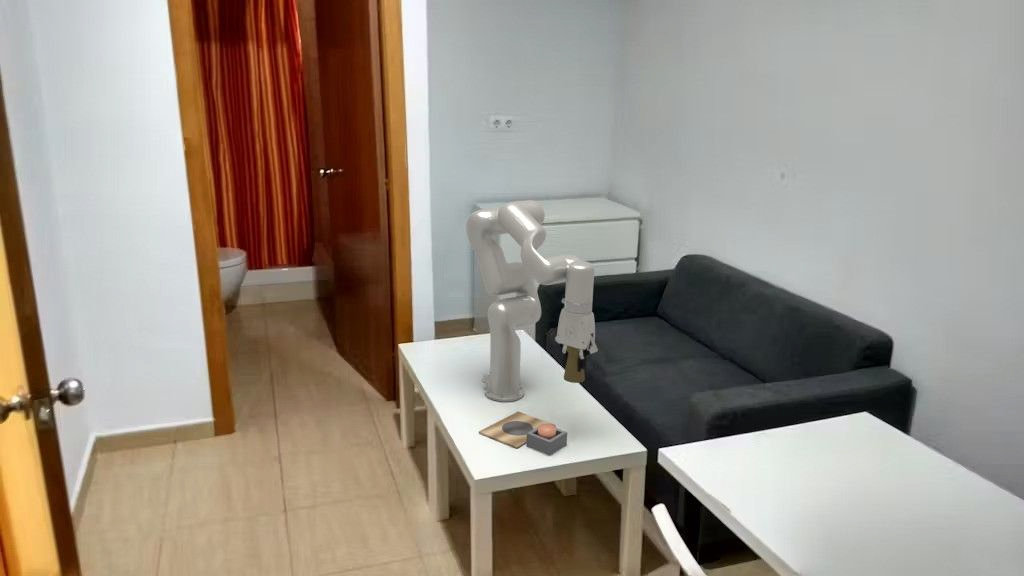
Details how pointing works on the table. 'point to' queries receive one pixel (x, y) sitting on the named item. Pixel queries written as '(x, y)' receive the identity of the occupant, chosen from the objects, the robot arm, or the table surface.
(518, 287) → the robot arm
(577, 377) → the pepper shaker
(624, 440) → the table surface
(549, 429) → the button
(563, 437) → the button housing
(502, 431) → the wooden board
